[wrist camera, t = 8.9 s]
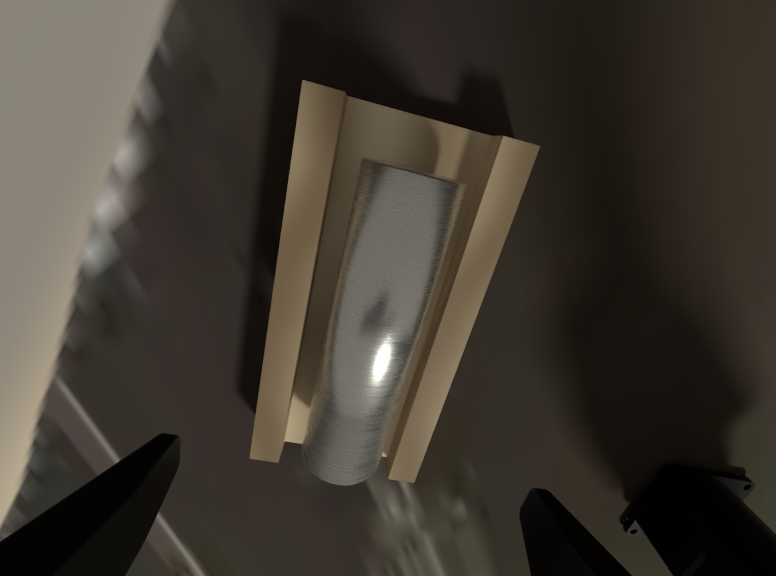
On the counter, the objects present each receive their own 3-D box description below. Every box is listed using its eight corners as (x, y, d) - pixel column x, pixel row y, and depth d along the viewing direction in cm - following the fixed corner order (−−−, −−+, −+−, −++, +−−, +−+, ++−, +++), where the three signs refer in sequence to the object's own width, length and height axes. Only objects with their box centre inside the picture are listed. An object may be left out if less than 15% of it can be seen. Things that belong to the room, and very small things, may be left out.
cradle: (516, 144, 16) (540, 145, 14) (409, 447, 23) (414, 482, 20) (313, 88, 15) (302, 79, 13) (262, 424, 22) (249, 458, 19)
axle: (363, 154, 15) (359, 160, 11) (455, 178, 16) (479, 191, 12) (309, 415, 20) (294, 478, 17) (379, 427, 21) (380, 490, 17)
